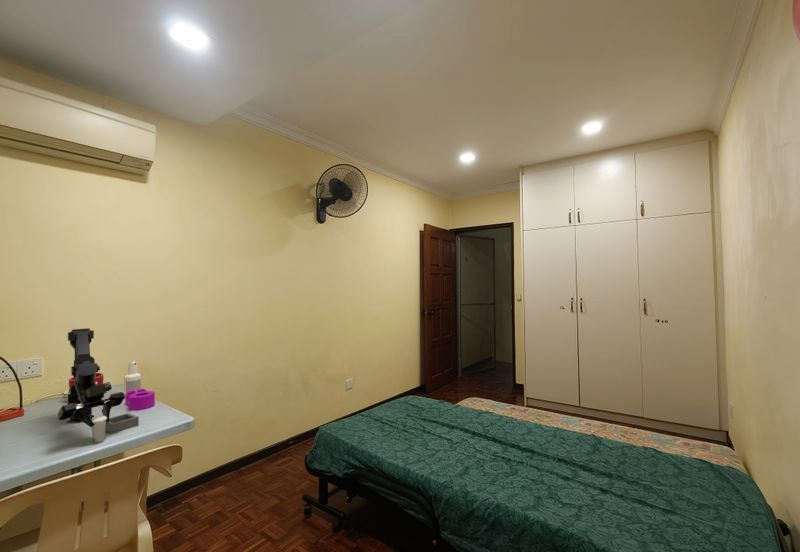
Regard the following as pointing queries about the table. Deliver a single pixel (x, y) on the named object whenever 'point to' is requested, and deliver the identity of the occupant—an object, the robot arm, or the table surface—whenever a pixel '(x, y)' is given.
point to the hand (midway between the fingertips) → (100, 424)
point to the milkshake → (99, 428)
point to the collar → (121, 422)
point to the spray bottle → (132, 378)
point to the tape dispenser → (140, 399)
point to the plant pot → (98, 379)
